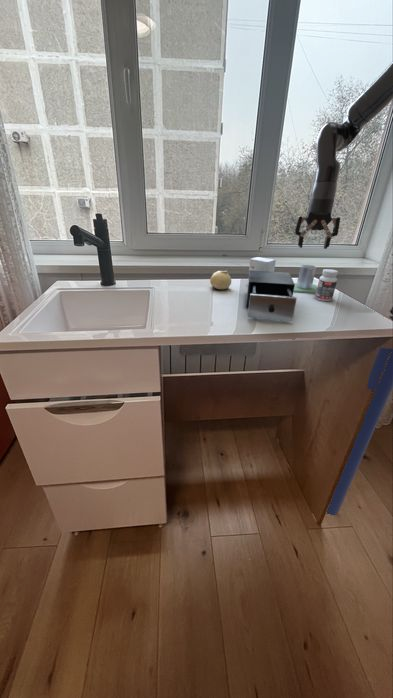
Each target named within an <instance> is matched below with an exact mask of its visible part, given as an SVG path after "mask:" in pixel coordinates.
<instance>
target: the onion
mask: <svg viewBox="0 0 393 698" xmlns="http://www.w3.org/2000/svg"><path fill="white" fill-rule="evenodd" d="M209 280H210V281H209V282H210V285H211V286H212V288H214V289H217V290H219V291H220V290H221V291H222V290H227V289H228V288H229V287H231V285H232V277H231V275H230V274H229V272H228V269H226V270H217V271H215V272H213V274H212V275H211V276H210V279H209Z"/></svg>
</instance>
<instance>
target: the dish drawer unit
mask: <svg viewBox="0 0 393 698" xmlns="http://www.w3.org/2000/svg"><path fill="white" fill-rule="evenodd" d="M248 278H249V279H247V289H246V303H245V308H246V309H249V301H250V294H252V285H253V284H256V285H271V286H286V287H289V288H290V290H291V293H292V296H293V297H294V292H293V291H294V286H295V284H294V283H295V282H294V280H293V277H292V276H291V273H290V272H286V271H285V272H283V271H274V272H269V271H253V270H249V269H248Z"/></svg>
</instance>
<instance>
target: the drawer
mask: <svg viewBox="0 0 393 698" xmlns="http://www.w3.org/2000/svg"><path fill="white" fill-rule="evenodd" d="M297 299H298V298H297V296H294V295H293V296H292V293H291V290H290V288H289V287H286V286H271V285H256V284H253V285H252V294H250V301H249V308H248V310H247V318H248V319H257V320H258V319H259V320H271V321H281V322H282V321H283V322H293V320H294V319H293V318H294V313H295V309H296V305H297V304H296V303H297Z"/></svg>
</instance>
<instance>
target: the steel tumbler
mask: <svg viewBox="0 0 393 698" xmlns="http://www.w3.org/2000/svg"><path fill="white" fill-rule="evenodd" d="M316 271H317V266H315V265H312V264H301V265H300V267H299V272H298V276H297V281H296V283H297V288H300V289H311V288H312V284H313V283H314V280H315V274H316ZM313 285H314V284H313Z"/></svg>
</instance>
